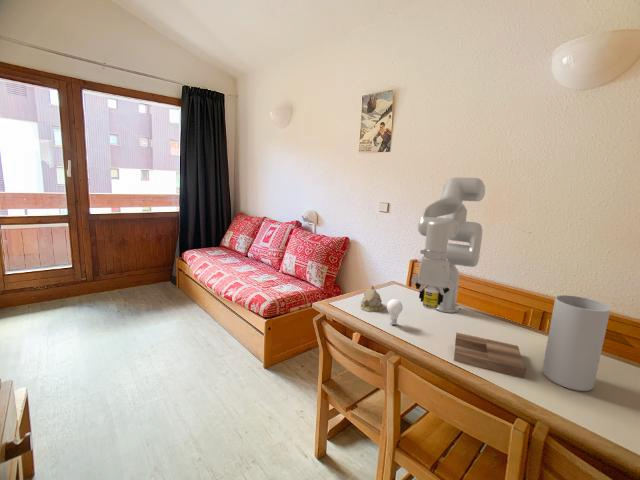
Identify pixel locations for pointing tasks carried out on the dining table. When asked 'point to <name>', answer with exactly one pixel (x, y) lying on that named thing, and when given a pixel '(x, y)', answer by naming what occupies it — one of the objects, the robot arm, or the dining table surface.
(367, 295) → the ceramic model
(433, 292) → the supplement bottle
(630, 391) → the dining table surface
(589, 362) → the cylinder vase
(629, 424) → the dining table surface
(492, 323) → the dining table surface
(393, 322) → the lightbulb
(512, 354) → the notched board
